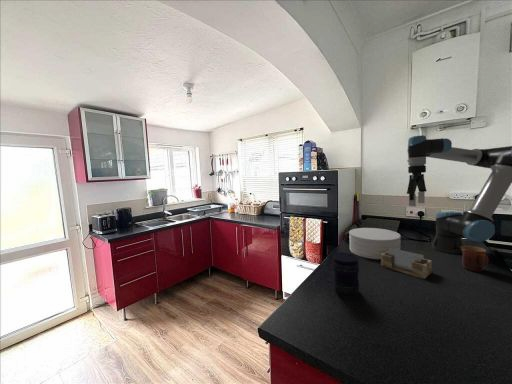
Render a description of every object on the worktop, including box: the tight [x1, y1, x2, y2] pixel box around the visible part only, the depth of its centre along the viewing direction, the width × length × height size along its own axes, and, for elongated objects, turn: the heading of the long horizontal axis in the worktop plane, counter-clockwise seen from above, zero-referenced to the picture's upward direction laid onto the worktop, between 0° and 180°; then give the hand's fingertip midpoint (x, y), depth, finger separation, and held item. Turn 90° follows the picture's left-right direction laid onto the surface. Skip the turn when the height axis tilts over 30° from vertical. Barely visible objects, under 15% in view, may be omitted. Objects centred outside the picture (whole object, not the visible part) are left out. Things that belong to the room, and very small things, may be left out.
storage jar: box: [332, 252, 360, 298], centre depth 88 cm, size 10×10×15 cm
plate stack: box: [348, 227, 402, 260], centre depth 132 cm, size 28×28×12 cm
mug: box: [461, 245, 489, 273], centre depth 100 cm, size 12×9×10 cm
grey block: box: [388, 248, 425, 272], centre depth 106 cm, size 4×14×8 cm, turn 37°
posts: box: [380, 251, 433, 280], centre depth 106 cm, size 10×19×6 cm, turn 36°
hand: (417, 204), depth 114 cm, fingers open, 13 cm apart
